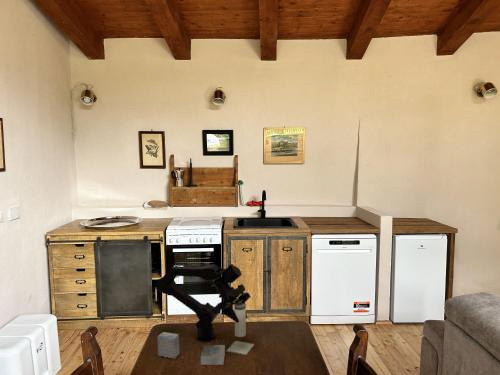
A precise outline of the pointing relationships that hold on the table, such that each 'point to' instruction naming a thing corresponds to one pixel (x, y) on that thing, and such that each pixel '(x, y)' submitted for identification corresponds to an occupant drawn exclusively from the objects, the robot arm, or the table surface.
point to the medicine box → (168, 345)
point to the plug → (240, 319)
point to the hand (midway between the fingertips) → (242, 320)
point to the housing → (213, 355)
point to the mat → (240, 347)
